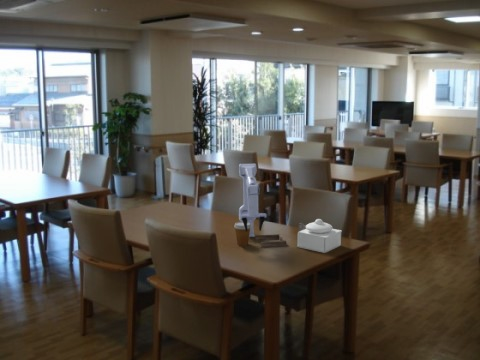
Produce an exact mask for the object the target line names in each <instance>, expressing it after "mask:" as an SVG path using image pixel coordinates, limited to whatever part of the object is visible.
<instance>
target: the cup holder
mask: <svg viewBox="0 0 480 360" xmlns="http://www.w3.org/2000/svg"><path fill="white" fill-rule="evenodd" d="M255 240H256V241H261V240H263V241H261V242H260V248H266V247H267V248H268V247H283V246H285V247H286V246H287V240H286V239H285V238H284V237H283V236H282V235H281V234H280V233H275V234H274V233H273V234H272V233H271V234H259V235H256V234H255ZM265 240H272V241H265ZM273 240H274V241H273ZM276 240H277V241H276Z"/></svg>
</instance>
